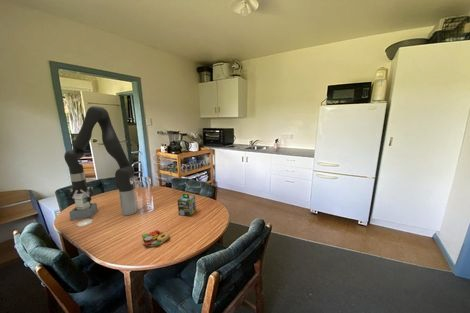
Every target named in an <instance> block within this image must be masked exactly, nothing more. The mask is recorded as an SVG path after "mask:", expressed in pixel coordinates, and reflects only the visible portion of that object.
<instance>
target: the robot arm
mask: <svg viewBox="0 0 470 313" xmlns="http://www.w3.org/2000/svg"><path fill="white" fill-rule="evenodd" d="M97 124H98V125H99V127H100V130H101V141H102V144H103V146H104V148H105V151H106V152H107V153H108V154H109V155H110V156H111V157H112V158H113V159H114V160H115V161H116V162H117V165H118V167H119V168H118V169H117V170H116V171H115V173H114V178H115V182H116V183H115V184H116V187H117V189H118V193H119V201H120V203H119V204H120V209H121V215H122V216H131V215H133V214H136V213H137V211H138V204H137V203H138V202H137V197H136V195H135V186H134V184H133V183H131V180H130V179H132V178H133V177H134V175H135V170H134V168H133V166H132V164H131V163H130V161H129V159H128V157H127V154H126V152H125V150H124V149H123V146H122V144H121V142H120V139H119V137H118V135H117V133H116V131H115V129H114V127H113V125H112V124H113V123H112V121H111V118H110V114H109V112H108V111H107V109H105V108H104V107H102V106H98V105H97V106H96V105H94V106H93V105H92V106H90V107H88V109H87V110H86V113H85V116H84V119H83V122H82V125H81V127H80V129H79V132H78V134H77V135H76V137H75V139H74V141H73V143H72V145H73V147H72V148H73V149H72V150H71V149H70V150H68V151H66V152H64V156H63V157H64V161H65V163H66V164H67V166H68V168H69V173H70V180H71V187H72V188H68V189H67V195H68V198H69V199H72V202H73V203H74V204H75V205H76V203H75V198H74V196H75V194H79V193H84V194H85V195H86V196H87V198H88V202H90V203H91V201H92V196H93V195H94V194H95V193H94V192H95V191H94V187H93V185H92V186H87V179H86V175H85V171H84V166H83V164H82V163H80V162H79V160H81V159H82V158H83V156H84V155H85V151H86V148H87V147H88V144H89V142H91V139H92V137H93V136H92V135H93V129H94V127H95V126H96V125H97ZM86 192H87V193H86Z"/></svg>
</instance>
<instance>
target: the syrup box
mask: <svg viewBox="0 0 470 313" xmlns="http://www.w3.org/2000/svg"><path fill="white" fill-rule="evenodd" d="M86 193H87V192H86ZM74 198H75V203H76V204H75V203H74V204H75V207H76V208H77V210H85V209H88V208H90V207H91V203H92V202H91V201H90V202H88V198H87V196H86V195H85V194H84V193H79V194H75V196H74Z"/></svg>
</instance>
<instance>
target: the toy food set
mask: <svg viewBox="0 0 470 313" xmlns="http://www.w3.org/2000/svg"><path fill="white" fill-rule="evenodd" d="M170 237H171V236H170V233H169V232H165V231H160V230H159V229H155V230H154V231H153V230H152V231H151V232H149V233H144V234H142V235H141V238H142V241H141V242H142V244H143V245H144V246H146V247H158V246H160V245H162V244H163V243H164V242H165V241H167V240H168V239H169V238H170Z"/></svg>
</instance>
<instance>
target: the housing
mask: <svg viewBox="0 0 470 313" xmlns="http://www.w3.org/2000/svg"><path fill="white" fill-rule="evenodd" d="M90 203H91V207H90V208H88V209H85V210H77V208H76V206H74V207H73V208H72V209H71V210H70V211H69V212H68V213H69V218H70V221H79V220H86V219H92V217H93V216H94V215H95V214H96V213H97V212H98V211H99V209H98V204H97V203H98V202H96V201H95V202H90Z"/></svg>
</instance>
